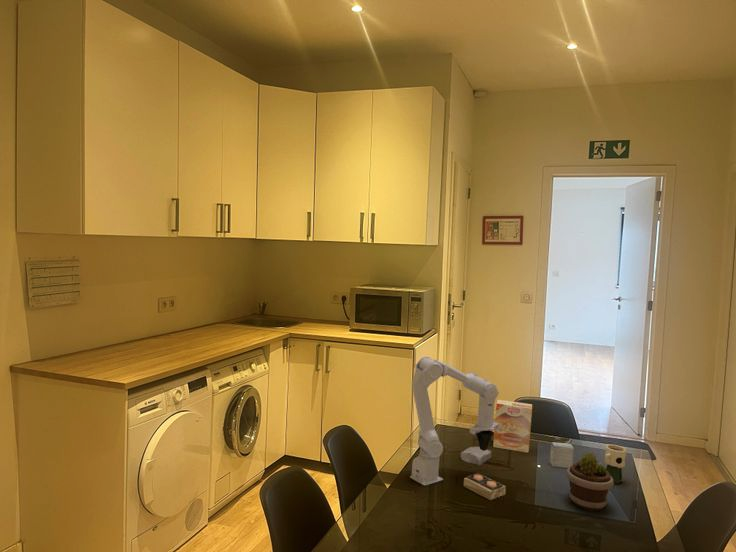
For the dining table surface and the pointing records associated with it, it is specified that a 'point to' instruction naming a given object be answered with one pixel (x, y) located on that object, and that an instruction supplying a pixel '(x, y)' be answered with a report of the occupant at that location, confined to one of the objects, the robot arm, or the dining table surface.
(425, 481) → the robot arm
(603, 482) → the flowerpot
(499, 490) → the socket block
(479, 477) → the peg
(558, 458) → the medicine box
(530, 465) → the dining table surface
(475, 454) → the stone block
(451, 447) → the dining table surface
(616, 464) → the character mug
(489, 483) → the peg
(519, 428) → the coffeecake box
